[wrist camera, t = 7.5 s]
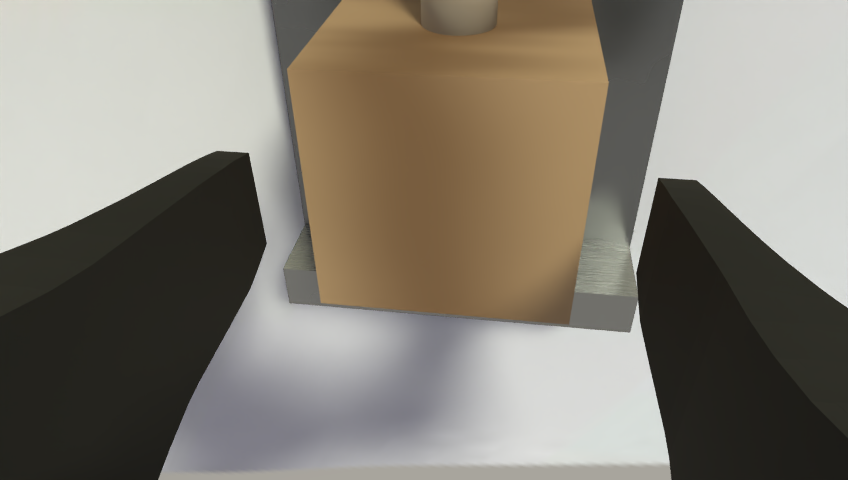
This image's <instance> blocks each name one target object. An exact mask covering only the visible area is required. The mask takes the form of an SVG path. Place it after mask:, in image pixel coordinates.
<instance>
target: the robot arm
mask: <svg viewBox="0 0 848 480" xmlns="http://www.w3.org/2000/svg"><path fill="white" fill-rule="evenodd" d="M266 244H267V243H266V238H265V233H264V228H263V223H262V218H261V213H260V208H259V202H258V197H257V192H256V187H255V182H254V177H253V172H252V167H251V162H250V157H249V153H240V152H224V151H216V152H213V153H211V154H208V155H206V156H204V157H202V158H199V159H197V160H195V161H193V162H191V163H189V164H187V165H185V166H184V167H182V168H180V169H178V170H176V171H174V172H172V173H170V174H169V175H167V176H165V177H163V178H161V179H159V180H157V181H156V182H154V183H152V184H150V185H148V186H146V187H144V188H142V189H141V190H139V191H137V192H135V193H133V194H131V195H129V196H128V197H126V198H124V199H122V200H120V201H118V202H116V203H114V204H112V205H110V206H108V207H106V208H104V209H102V210H99V211H97V212H95V213H93V214H91V215H89V216H87V217H85V218H83V219H81V220H79V221H77V222H75V223H73V224H71V225H69V226H66V227H64V228H62V229H60V230H58V231H55V232H53V233H51V234H48V235H46V236H44V237H41V238H39V239H36V240H34V241H31V242H28V243H26V244H23V245H21V246H18V247H16V248H13V249H11V250H8V251H5V252H3V253H0V480H158V478H159V476H160V473H161V470H162V468H163V465H164V463H165V460H166V457H167V455H168V452H169V449H170V447H171V445H172V442H173V440H174V437H175V435H176V432H177V430H178V428H179V425H180V423H181V420H182V418H183V415H184V413H185V411H186V408H187V406H188V403H189V401H190V399H191V397H192V395H193V393H194V391H195V389H196V387H197V385H198V383H199V381H200V379H201V378H202V376H203V374H204V372H205V370H206V368H207V367H208V365H209V363H210V361H211V359H212V358H213V356H214V354H215V352H216V350H217V349H218V347H219V345H220V343H221V341H222V340H223V338H224V336H225V334H226V332H227V331H228V329H229V327H230V325H231V323H232V322H233V320H234V318H235V316H236V314H237V312H238V310H239V309H240V307H241V305H242V303H243V301H244V299H245V297H246V296H247V294H248V292H249V290H250V288H251V285H252V283H253V280H254V278H255V275H256V272H257V270H258V267H259V264H260V261H261V258H262V256H263V253H264V250H265V247H266ZM636 274H637V289H638V303H639V314H640V323H641V328H642V333H643V338H644V342H645V347H646V351H647V356H648V361H649V365H650V369H651V374H652V378H653V383H654V387H655V391H656V396H657V400H658V405H659V409H660V413H661V418H662V422H663V427H664V431H665V437H666V442H667V448H668V454H669V460H670V470H671V479H672V480H848V308H847V307H846V306H844V305H843V304H841V303H840V302H838V301H837V300H835V299H834V298H833V297H831V296H830V295H828V294H827V293H826V292H824V291H823V290H822V289H820V288H819V287H818V286H816V285H815V284H814V283H813V282H811V281H810V280H809V279H808V278H806V277H805V276H804V275H803V274H801V273H800V272H799V271H797V270H796V269H795V268H794V267H792V266H791V265H790V264H789V263H787V262H786V261H785V260H784V259H783V258H782V257H780V256H779V255H778V254H777V253H776V252H774V251H773V250H772V249H771V248H770V247H769V246H768V245H766V244H765V243H764V242H763V241H762V240H761V239H760V238H759V237H757V236H756V235H755V234H754V233H753V232H752V231H751V230H750V229H749V228H748V227H747V226H745V225H744V224H743V223H742V222H741V221H740V220H739V219H738V218H737V217H736V216H735V215H734V214H733V213H732V212H731V211H729V210H728V209H727V208H726V207H725V206H724V205H723V204H722V203H721V202H720V201H719V200H718V199H717V198H716V197H715V196H714V195H713V194H711V193H710V192H709V191H708V190H707V189H706V188H705V187H704V186H703V185H701V184H700V183H699V182H698V181H697V180H682V179H666V178H658V182H657V186H656V191H655V195H654V199H653V204H652V208H651V212H650V216H649V221H648V225H647V229H646V234H645V238H644V242H643V247H642V251H641V255H640V259H639V264H638V268H637V272H636Z"/></svg>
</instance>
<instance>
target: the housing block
mask: <svg viewBox="0 0 848 480" xmlns="http://www.w3.org/2000/svg"><path fill="white" fill-rule="evenodd" d="M287 73H288V80H289V87H290V94H291V101H292V108H293V115H294V122H295V128H296V135H297V142H298V149H299V156H300V163H301V170H302V176H303V183H304V190H305V197H306V204H307V211H308V218H309V225H310V231H311V238H312V245H313V252H314V259H315V266H316V273H317V279H318V286H319V293H320V300H321V303H326V304H337V305H349V306H360V307H372V308H383V309H395V310H406V311H418V312H429V313H441V314H452V315H463V316H475V317H486V318H498V319H509V320H521V321H532V322H544V323H555V324H567V325H569V322H570V316H571V310H572V304H573V298H574V292H575V286H576V279H577V273H578V267H579V261H580V255H581V249H582V243H583V237H584V231H585V225H586V219H587V212H588V206H589V200H590V194H591V188H592V182H593V176H594V170H595V164H596V158H597V151H598V145H599V139H600V133H601V127H602V121H603V115H604V109H605V103H606V97H607V91H608V84H609V82H608V77H607V72H606V67H605V63H604V58H603V53H602V48H601V43H600V39H599V34H598V29H597V24H596V20H595V15H594V10H593V5H592V1H591V0H342V1H341V2H340V3H339V5H338V6H337V7H336V8H335V10H334V11H333V12H332V13H331V15H330V16H329V17H328V18H327V20H326V21H325V22H324V23H323V25H322V26H321V27H320V28H319V30H318V31H317V32H316V33H315V35H314V36H313V37H312V38H311V40H310V41H309V42H308V43H307V45H306V46H305V47H304V48H303V50H302V51H301V52H300V53H299V55H298V56H297V57H296V58H295V60H294V61H293V62H292V63H291V65H290V66H289V67H288V68H287Z"/></svg>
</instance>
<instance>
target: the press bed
mask: <svg viewBox="0 0 848 480" xmlns="http://www.w3.org/2000/svg"><path fill="white" fill-rule="evenodd" d="M341 1H342V0H271V3H272V9H273V16H274V22H275V29H276V36H277V42H278V49H279V55H280V62H281V68H282V75H283V82H284V88H285V95H286V101H287V108H288V115H289V121H290V128H291V134H292V141H293V148H294V154H295V161H296V167H297V174H298V181H299V187H300V194H301V200H302V207H303V214H304V220H305V226H304V228H303V230H302V232H301V234H300V236H299V238H298V240H297V242H296V244H295V246H294V248H293V250H292V252H291V254H290V256H289V258H288V260H287V262H286V264H285V266H284V268H283V270H284V275H285V280H286V286H287V291H288V297H289V302H290V303H296V304H308V305H319V306H331V307H342V308H354V309H365V310H377V311H388V312H400V313H411V314H423V315H434V316H446V317H457V318H469V319H480V320H492V321H503V322H515V323H526V324H538V325H549V326H561V327H572V328H584V329H595V330H607V331H618V332H630V330H631V326H632V322H633V318H634V314H635V310H636V306H637V301H638V292H637V286H636V281H635V275H634V270H633V264H632V259H631V253H630V244H631V239H632V234H633V230H634V225H635V221H636V216H637V211H638V207H639V202H640V198H641V193H642V188H643V184H644V179H645V175H646V170H647V166H648V161H649V156H650V152H651V147H652V143H653V138H654V133H655V129H656V124H657V120H658V115H659V111H660V106H661V101H662V97H663V92H664V88H665V83H666V78H667V74H668V69H669V65H670V60H671V55H672V51H673V46H674V42H675V37H676V33H677V28H678V23H679V19H680V14H681V10H682V5H683V0H591V1H592V5H593V10H594V15H595V20H596V24H597V29H598V34H599V39H600V43H601V48H602V53H603V58H604V63H605V67H606V72H607V77H608V82H609V84H608V91H607V97H606V103H605V109H604V115H603V121H602V127H601V133H600V139H599V145H598V151H597V158H596V164H595V170H594V176H593V182H592V188H591V194H590V200H589V206H588V212H587V219H586V225H585V231H584V237H583V243H582V249H581V255H580V261H579V267H578V273H577V279H576V286H575V292H574V298H573V304H572V310H571V316H570V322H569V325H567V324H555V323H544V322H532V321H521V320H509V319H498V318H486V317H475V316H463V315H452V314H441V313H429V312H418V311H406V310H395V309H383V308H372V307H360V306H349V305H337V304H326V303H321V300H320V293H319V286H318V279H317V273H316V266H315V259H314V252H313V245H312V238H311V231H310V225H309V218H308V211H307V204H306V197H305V190H304V183H303V176H302V170H301V163H300V156H299V149H298V142H297V135H296V128H295V122H294V115H293V108H292V101H291V94H290V87H289V80H288V73H287V68H288V67H289V66H290V65H291V63H292V62H293V61H294V60H295V58H296V57H297V56H298V55H299V53H300V52H301V51H302V50H303V48H304V47H305V46H306V45H307V43H308V42H309V41H310V40H311V38H312V37H313V36H314V35H315V33H316V32H317V31H318V30H319V28H320V27H321V26H322V25H323V23H324V22H325V21H326V20H327V18H328V17H329V16H330V15H331V13H332V12H333V11H334V10H335V8H336V7H337V6H338V5H339V3H340V2H341Z"/></svg>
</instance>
